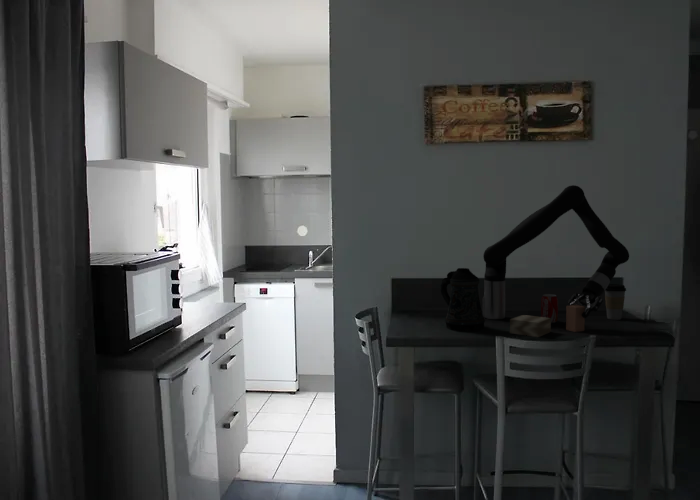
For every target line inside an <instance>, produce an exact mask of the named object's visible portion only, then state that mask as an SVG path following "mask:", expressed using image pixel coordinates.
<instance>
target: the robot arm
mask: <svg viewBox="0 0 700 500" xmlns="http://www.w3.org/2000/svg"><path fill="white" fill-rule="evenodd" d="M571 210H572V211H573V212H574V213H575V214H576V215H577V216H578V217H579V219H580V220H581V221H582V223H583V225H584V226H585V228H586V230H587V232H588V233H589V234H590V236H591V237H592V239H593V240H594V242H595V244H597V246H598V247H599V248H601V249H606V251H607V252H606V253H605V255H604V256H603V259H602V261H600V262H601V263H600V265H599V267H598V268H597V269H596V271H595V272H594V273H593V274H592V275H591V276H590V278H589V279H588V281H587V282H586V283H585V284H584V286H583V287H582V292H581V293H577V292H574V293H573V294H572V296H571V297H570V298H569V299H568V301H567V303H568V306H569V305H579V306H585V311H584V312H583V313H582V317H583V318H585V319H587V318H588V317H589V315H590V314H591V313H592V312H597V311H599V308H600V306H601V305H602V303H603V302H604V300H603V299H602V298H601V296H602V295H603V294H604V293H605V289H606V288H607V287H608V285H609V284H610V283H611V281H612V280H613V278H614V276H615V275H616V272H617V270H616V269H617V267H618V266H619V265H622V264H625V263H627V262H628V261H629V259H630V252H629V251H628V249H627V247H626V246H625V245H624V244H623V243H621V241H619V240H618V239H617V238H616V237H614V235H613V234H612V232H611V231H610V229H609V228H608V227H607V226H606V224H605V223H604V222H603V221H602V219H600V218H599V216H598V215H597V214H596V213H595V211H594V210H593V208H592V207H591V205H590V203H589V202H588V199H587V197H586V196H585V192H584V190H583V188H582V187H580V186H578V185H576V184H575V185H574V184H573V185H568V186H567V187H565V188H564V189H563V190H562V192H560V193H559V194H558V195H557V196H556V197H555V198H554V199H553V200H552V201H550V202H549V203H548V204H546V205H545V206H543V207H541V208H540V209H538V210H536V211H534V212H533V213H531V214H530V215H528V217H526V218H524V219H523V220H522V221H521V222H519V224H518V225H516V226H515V227H514V228H513V229H512V230H510V231H509V233H508V234H507V235H506V236H505V237H503V238H501V239H499V241H497V242H496V243H494V244H491V245H489V246H488V247H486V248H485V250H484V251H483V260H484V262H485V272H484V278H483V279H484V280H483V281H484V284H483V285H484V291H483V292H484V295H483V297H482V314H483V317H484V319H487V320H503V319H505V318H506V273H507V258H508V257H509V256H510V255H512V254H513V252H515V251H516V250H517V249H519V248H521V247H523V246H525V245H526V244H528V243H530V242H531V241H533V240H534V239H536V238H537V237H539V236H540V235H541V234H543V233H544V232H545V231H546V230H547V229H548V228H550V227H551V226H552V225H553V224H554V223H555V222H556V221H557V220H558V219H559V218H561V217H562V216H563V215H564V214H566V213H567V212H570V211H571Z"/></svg>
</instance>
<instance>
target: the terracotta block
mask: <svg viewBox="0 0 700 500" xmlns="http://www.w3.org/2000/svg"><path fill="white" fill-rule="evenodd" d="M585 309H586V306H585V305H581V306H579V305H575V304H574V305H569V304H568V305H566V309H565V313H566V319H565V322H566V323H565V330H566V331H570V332H574V333H577V332H585V322H586V321H585V319H586V318H583V317H582V313H583V312H584V311H585Z"/></svg>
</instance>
